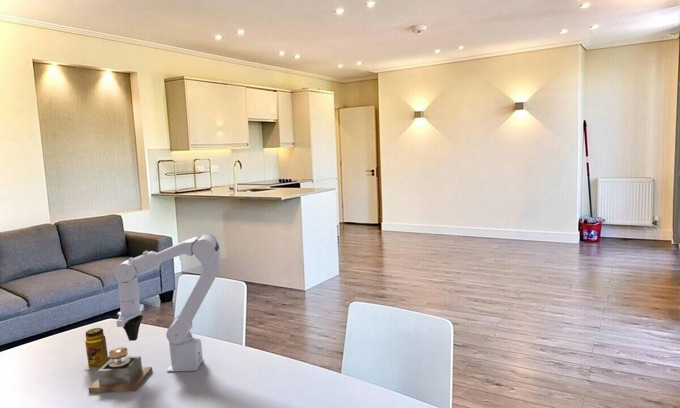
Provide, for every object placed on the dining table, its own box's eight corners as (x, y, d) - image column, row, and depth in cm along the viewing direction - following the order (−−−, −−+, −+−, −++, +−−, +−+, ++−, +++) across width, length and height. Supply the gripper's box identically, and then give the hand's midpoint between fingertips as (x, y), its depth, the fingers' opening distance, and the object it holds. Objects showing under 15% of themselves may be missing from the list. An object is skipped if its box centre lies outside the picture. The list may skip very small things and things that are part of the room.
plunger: (133, 357, 148) (132, 346, 148) (124, 366, 143) (123, 355, 142) (114, 358, 149) (113, 346, 148) (104, 367, 143) (103, 355, 142)
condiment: (85, 371, 155) (80, 336, 153) (90, 359, 163) (85, 326, 161) (109, 366, 157) (105, 332, 155) (113, 356, 165) (109, 323, 163)
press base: (152, 371, 152) (150, 353, 151) (135, 391, 140) (133, 372, 139) (109, 372, 153) (107, 355, 152) (88, 392, 141) (86, 373, 140)
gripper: (127, 291, 157) (131, 330, 159) (105, 307, 143) (109, 349, 145) (148, 291, 157) (152, 330, 159) (128, 306, 143) (132, 349, 145)
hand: (133, 339), depth 152 cm, fingers closed
